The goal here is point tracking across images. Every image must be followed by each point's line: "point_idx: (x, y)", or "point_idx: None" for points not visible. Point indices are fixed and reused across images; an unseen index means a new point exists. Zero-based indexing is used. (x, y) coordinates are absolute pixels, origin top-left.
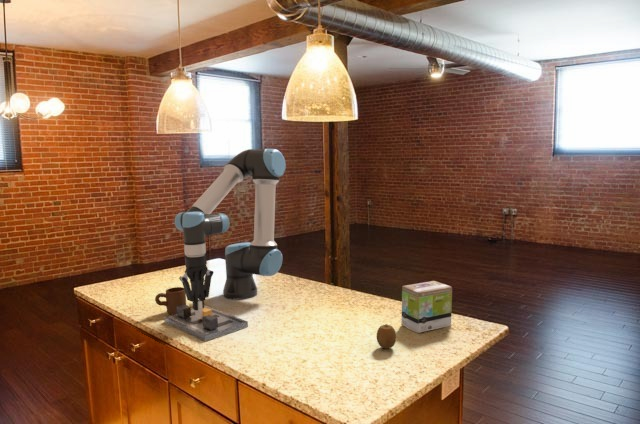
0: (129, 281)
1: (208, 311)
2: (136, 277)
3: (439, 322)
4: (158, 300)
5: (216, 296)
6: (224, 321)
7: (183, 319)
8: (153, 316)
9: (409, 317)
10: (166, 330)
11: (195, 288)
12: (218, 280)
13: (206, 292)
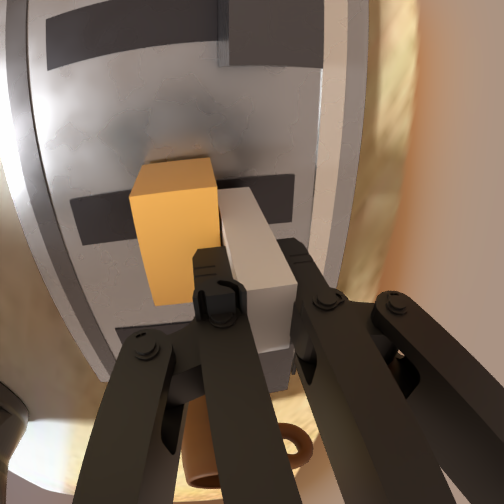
0: (209, 496)
1: (171, 188)
2: (191, 499)
3: None
4: (304, 440)
5: (49, 420)
6: (89, 66)
7: None
8: (295, 392)
9: None
10: (370, 253)
11: (418, 461)
12: (44, 461)
13: (156, 400)
